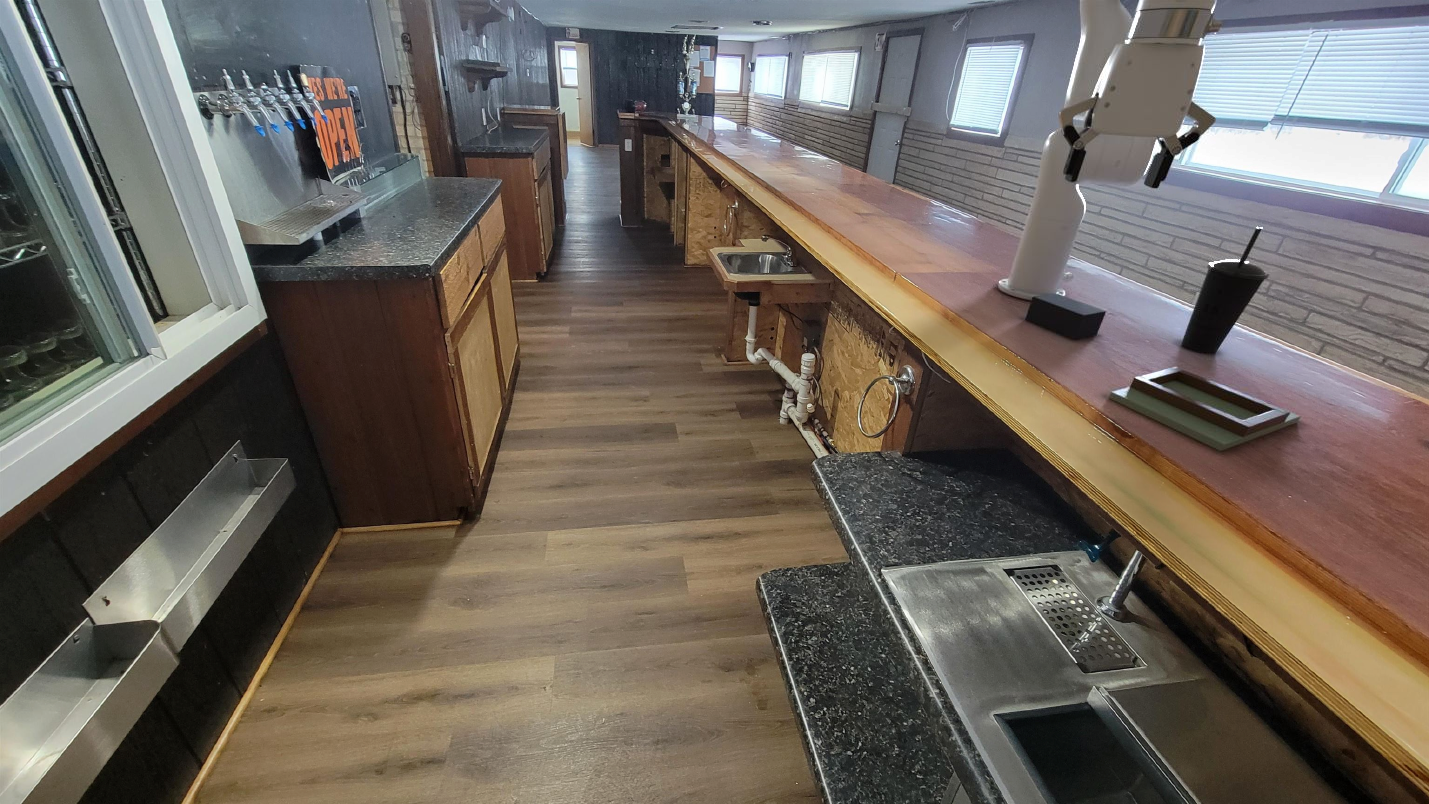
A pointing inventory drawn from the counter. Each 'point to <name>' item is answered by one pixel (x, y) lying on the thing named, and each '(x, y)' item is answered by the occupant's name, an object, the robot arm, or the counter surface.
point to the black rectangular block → (1065, 315)
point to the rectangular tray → (1202, 408)
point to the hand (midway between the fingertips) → (1109, 183)
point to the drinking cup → (1222, 300)
